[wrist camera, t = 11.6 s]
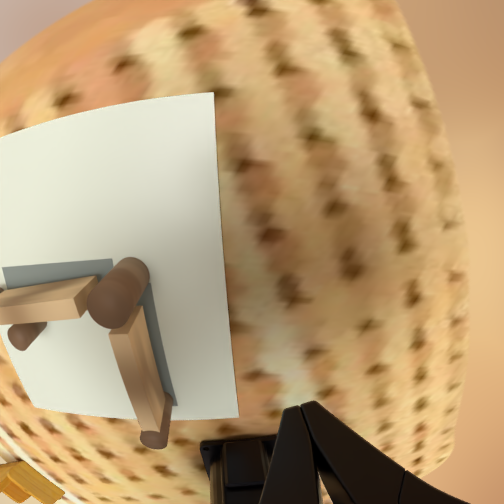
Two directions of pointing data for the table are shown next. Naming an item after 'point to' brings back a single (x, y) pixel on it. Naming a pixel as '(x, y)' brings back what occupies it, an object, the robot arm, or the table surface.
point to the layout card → (121, 250)
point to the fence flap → (46, 301)
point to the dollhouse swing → (27, 484)
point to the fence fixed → (123, 345)
